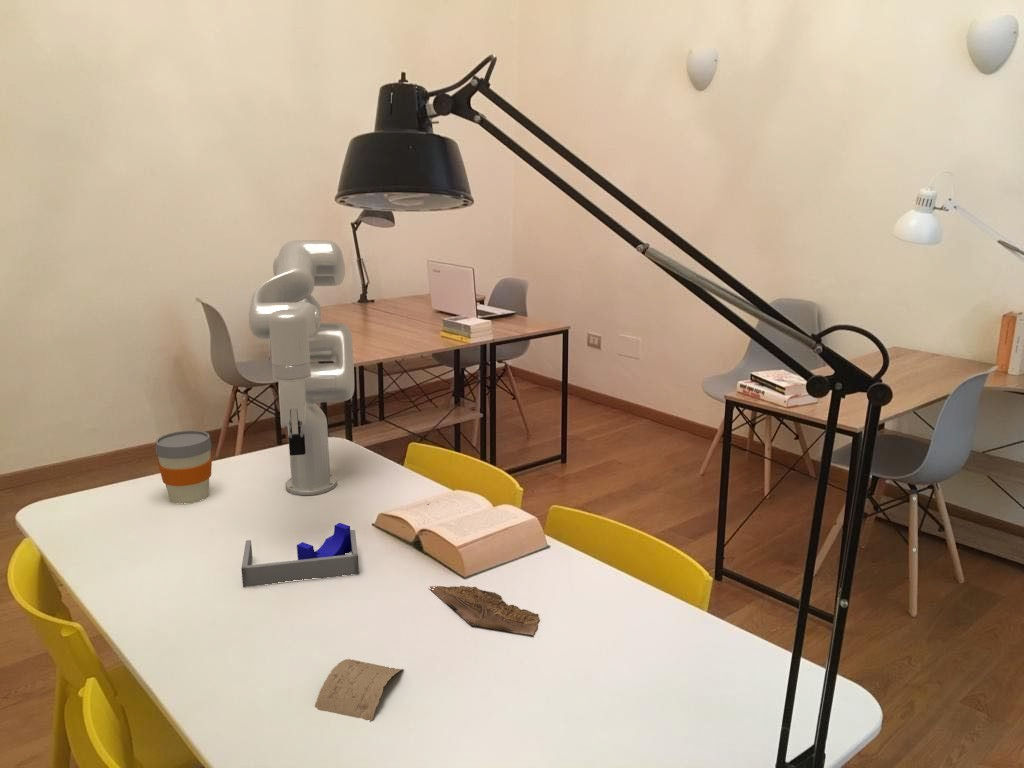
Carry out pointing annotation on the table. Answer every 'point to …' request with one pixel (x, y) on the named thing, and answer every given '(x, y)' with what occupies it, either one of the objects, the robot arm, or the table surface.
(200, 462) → the reusable coffee cup
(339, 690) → the brown curved piece
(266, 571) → the u-shaped bracket
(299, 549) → the blue curved cradle
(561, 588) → the table surface
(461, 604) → the wooden fragment
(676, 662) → the table surface
